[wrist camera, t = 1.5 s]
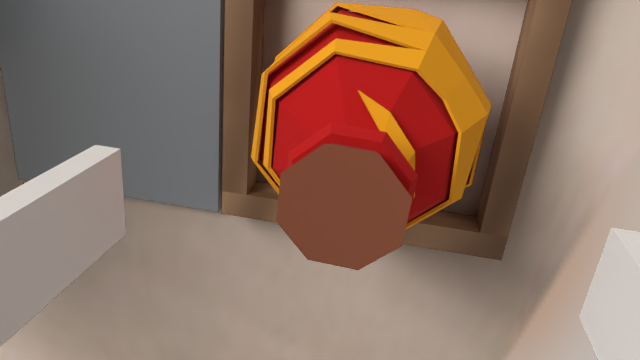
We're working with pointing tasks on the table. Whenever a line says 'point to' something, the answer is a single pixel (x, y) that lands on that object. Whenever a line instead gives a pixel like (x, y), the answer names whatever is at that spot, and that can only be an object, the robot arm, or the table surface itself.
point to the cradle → (442, 227)
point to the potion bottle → (367, 130)
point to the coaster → (119, 90)
